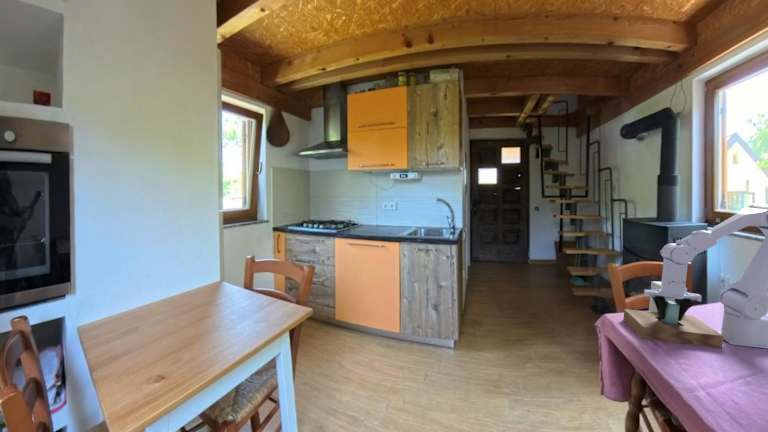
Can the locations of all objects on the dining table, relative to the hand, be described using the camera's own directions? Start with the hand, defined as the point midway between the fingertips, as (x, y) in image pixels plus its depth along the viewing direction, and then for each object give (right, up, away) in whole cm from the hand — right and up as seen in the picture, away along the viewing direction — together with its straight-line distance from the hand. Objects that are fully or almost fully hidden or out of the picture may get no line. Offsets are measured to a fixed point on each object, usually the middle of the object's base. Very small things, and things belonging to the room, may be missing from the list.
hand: (669, 318), depth 101 cm
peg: (0, -2, 0) cm, 3 cm away
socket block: (0, -5, +1) cm, 5 cm away
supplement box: (+10, -4, +12) cm, 16 cm away
